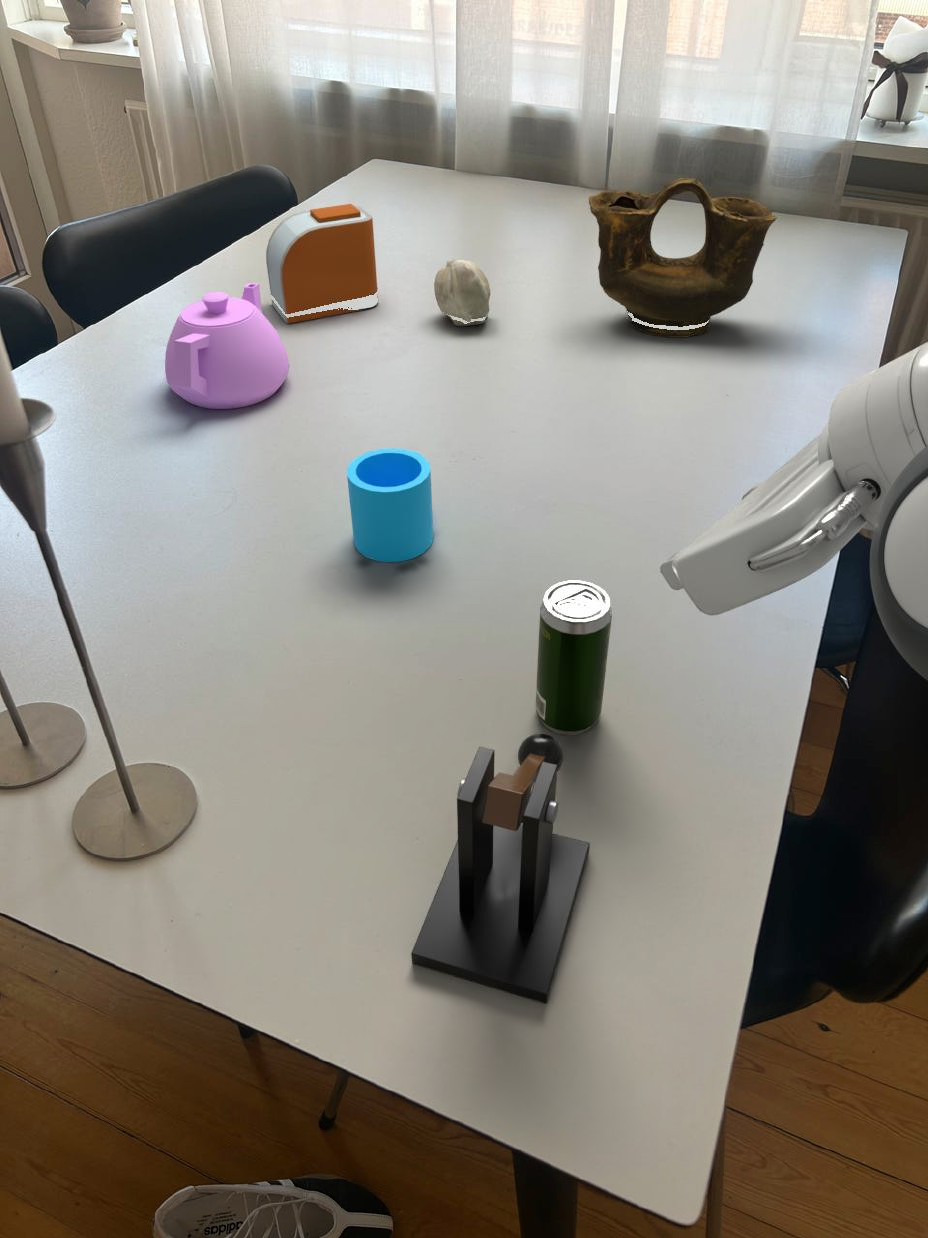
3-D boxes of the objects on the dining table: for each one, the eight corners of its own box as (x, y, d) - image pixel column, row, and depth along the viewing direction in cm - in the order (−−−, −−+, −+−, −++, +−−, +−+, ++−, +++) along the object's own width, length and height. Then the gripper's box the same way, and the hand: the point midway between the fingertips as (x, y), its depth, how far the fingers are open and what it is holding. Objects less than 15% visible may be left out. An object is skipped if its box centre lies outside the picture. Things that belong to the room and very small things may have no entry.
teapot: (252, 432, 116) (236, 337, 108) (135, 418, 119) (111, 324, 112) (317, 355, 133) (307, 268, 125) (213, 345, 136) (197, 259, 128)
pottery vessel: (577, 334, 137) (587, 187, 124) (583, 304, 145) (592, 163, 133) (757, 345, 134) (786, 195, 121) (753, 314, 142) (780, 170, 129)
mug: (414, 569, 95) (410, 498, 90) (339, 552, 97) (331, 482, 92) (458, 506, 103) (457, 438, 98) (389, 492, 106) (384, 425, 101)
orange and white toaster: (363, 287, 152) (356, 197, 143) (382, 306, 146) (376, 213, 137) (271, 303, 147) (258, 211, 138) (287, 324, 141) (274, 228, 132)
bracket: (469, 822, 71) (467, 697, 63) (589, 853, 69) (603, 728, 61) (411, 964, 62) (401, 841, 54) (546, 1004, 60) (557, 883, 52)
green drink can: (555, 746, 77) (563, 632, 69) (523, 703, 80) (527, 590, 73) (613, 724, 78) (627, 610, 71) (578, 683, 82) (588, 571, 74)
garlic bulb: (484, 344, 140) (496, 289, 132) (427, 335, 140) (435, 279, 131) (488, 301, 145) (499, 245, 137) (432, 292, 145) (440, 235, 136)
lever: (520, 766, 70) (527, 724, 70) (562, 776, 69) (570, 734, 69) (472, 827, 58) (480, 776, 57) (523, 840, 57) (532, 789, 56)
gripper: (856, 604, 42) (646, 668, 54) (1016, 425, 54) (815, 510, 65) (781, 482, 42) (585, 573, 53) (959, 328, 53) (766, 430, 65)
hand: (713, 537), depth 59 cm, fingers open, 8 cm apart
